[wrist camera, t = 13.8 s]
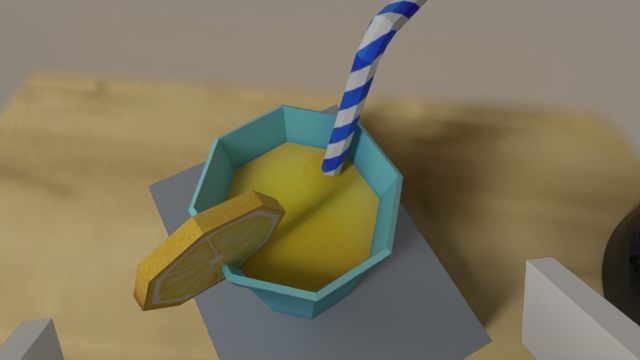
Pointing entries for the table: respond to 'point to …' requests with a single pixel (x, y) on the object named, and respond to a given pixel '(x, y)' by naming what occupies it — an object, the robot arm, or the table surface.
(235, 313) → the slate block
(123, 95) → the table surface
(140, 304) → the cup
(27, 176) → the table surface
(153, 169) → the table surface
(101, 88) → the table surface
